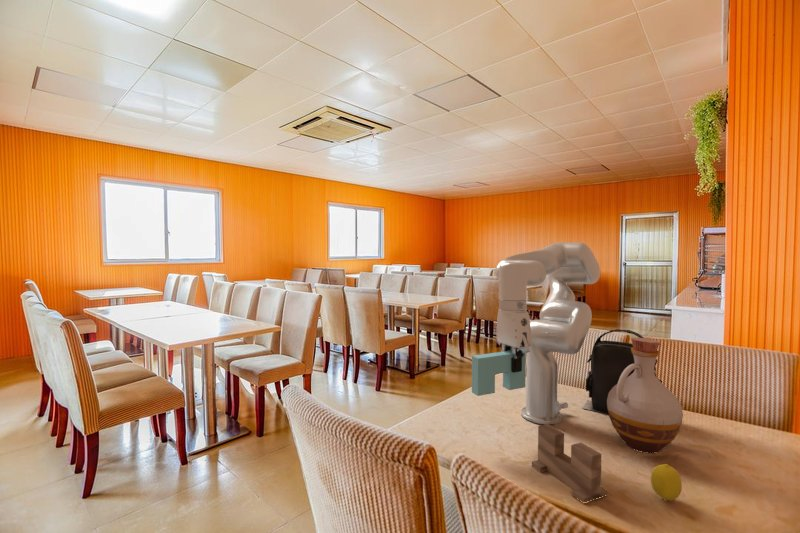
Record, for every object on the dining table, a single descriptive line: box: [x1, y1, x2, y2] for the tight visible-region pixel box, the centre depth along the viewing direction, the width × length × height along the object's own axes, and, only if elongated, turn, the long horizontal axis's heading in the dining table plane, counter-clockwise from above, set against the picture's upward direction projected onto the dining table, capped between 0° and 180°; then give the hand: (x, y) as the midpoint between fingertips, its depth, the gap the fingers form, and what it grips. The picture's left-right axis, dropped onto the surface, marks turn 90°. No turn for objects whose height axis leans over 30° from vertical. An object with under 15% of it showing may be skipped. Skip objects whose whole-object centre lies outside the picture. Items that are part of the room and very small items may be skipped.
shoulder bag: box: [582, 328, 663, 415], centre depth 131 cm, size 23×9×28 cm, turn 54°
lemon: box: [650, 463, 683, 501], centre depth 86 cm, size 6×6×8 cm
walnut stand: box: [531, 424, 608, 502], centre depth 93 cm, size 7×16×10 cm, turn 23°
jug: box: [607, 336, 684, 454], centre depth 108 cm, size 20×18×30 cm
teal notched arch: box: [471, 349, 527, 397], centre depth 110 cm, size 16×3×10 cm, turn 113°
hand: (512, 369), depth 112 cm, fingers closed on teal notched arch, 3 cm apart
